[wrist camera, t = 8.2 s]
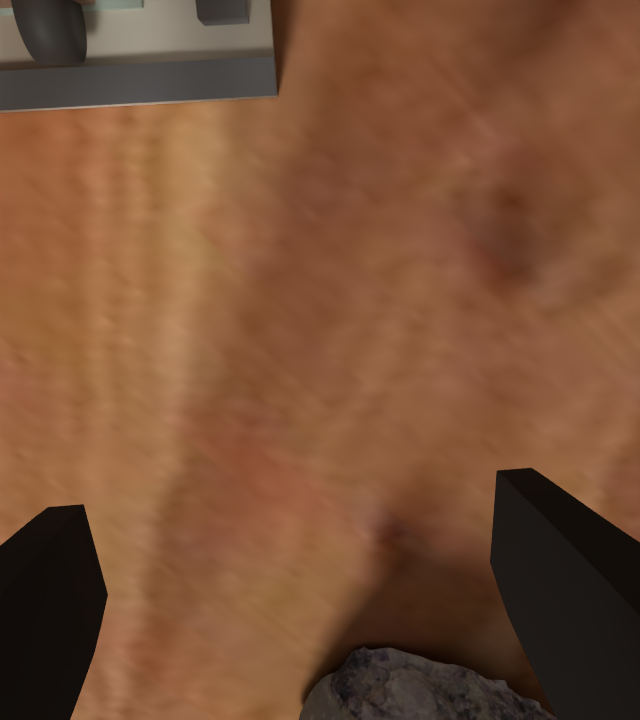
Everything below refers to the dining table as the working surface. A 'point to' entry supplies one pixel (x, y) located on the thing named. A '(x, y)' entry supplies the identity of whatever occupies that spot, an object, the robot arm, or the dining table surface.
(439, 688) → the mineral rock
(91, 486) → the dining table surface
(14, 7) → the wooden trolley
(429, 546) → the dining table surface
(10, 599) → the robot arm
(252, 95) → the dock
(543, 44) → the dining table surface
